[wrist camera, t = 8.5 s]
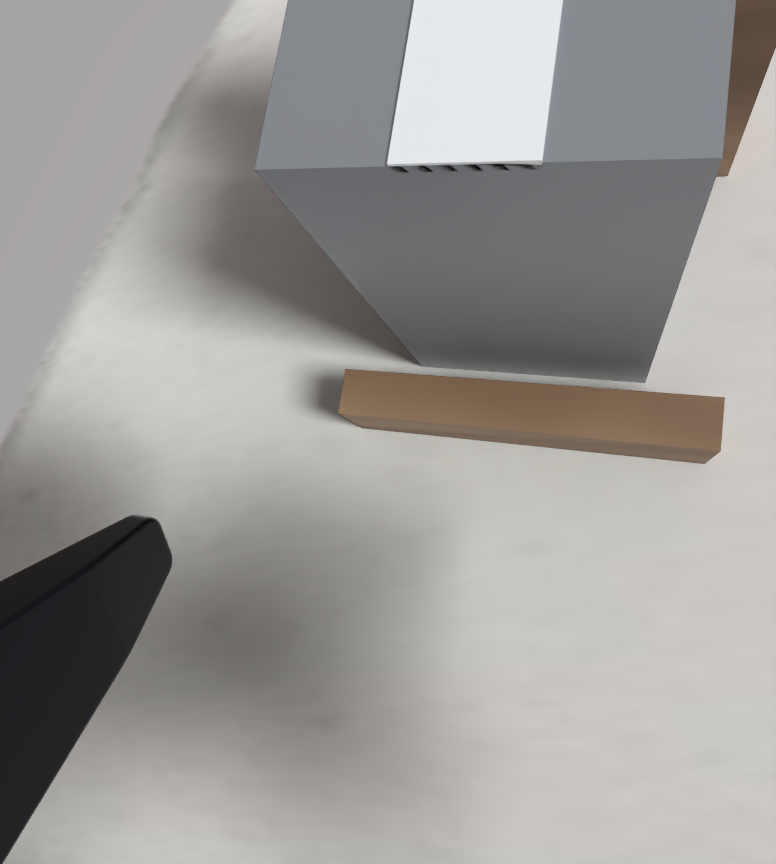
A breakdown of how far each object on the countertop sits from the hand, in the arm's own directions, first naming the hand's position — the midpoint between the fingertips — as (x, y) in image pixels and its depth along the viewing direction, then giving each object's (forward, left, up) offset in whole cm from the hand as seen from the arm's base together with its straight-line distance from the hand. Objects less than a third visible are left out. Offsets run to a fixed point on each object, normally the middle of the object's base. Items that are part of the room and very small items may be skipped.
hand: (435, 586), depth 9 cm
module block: (+8, -1, -8) cm, 12 cm away
